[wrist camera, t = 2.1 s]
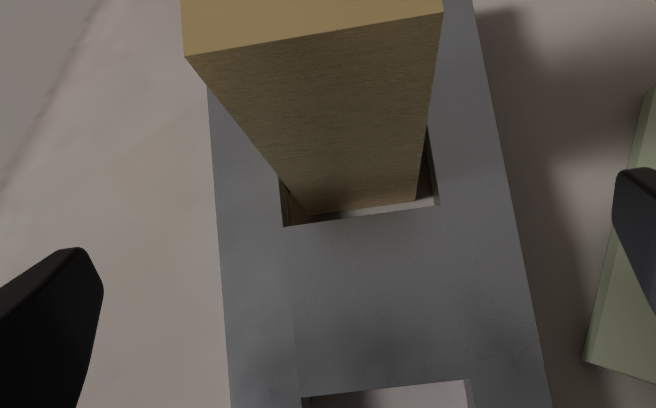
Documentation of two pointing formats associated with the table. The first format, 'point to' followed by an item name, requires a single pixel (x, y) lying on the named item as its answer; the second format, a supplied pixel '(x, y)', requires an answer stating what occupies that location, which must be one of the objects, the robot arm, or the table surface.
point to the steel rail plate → (382, 266)
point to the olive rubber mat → (626, 286)
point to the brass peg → (324, 89)
